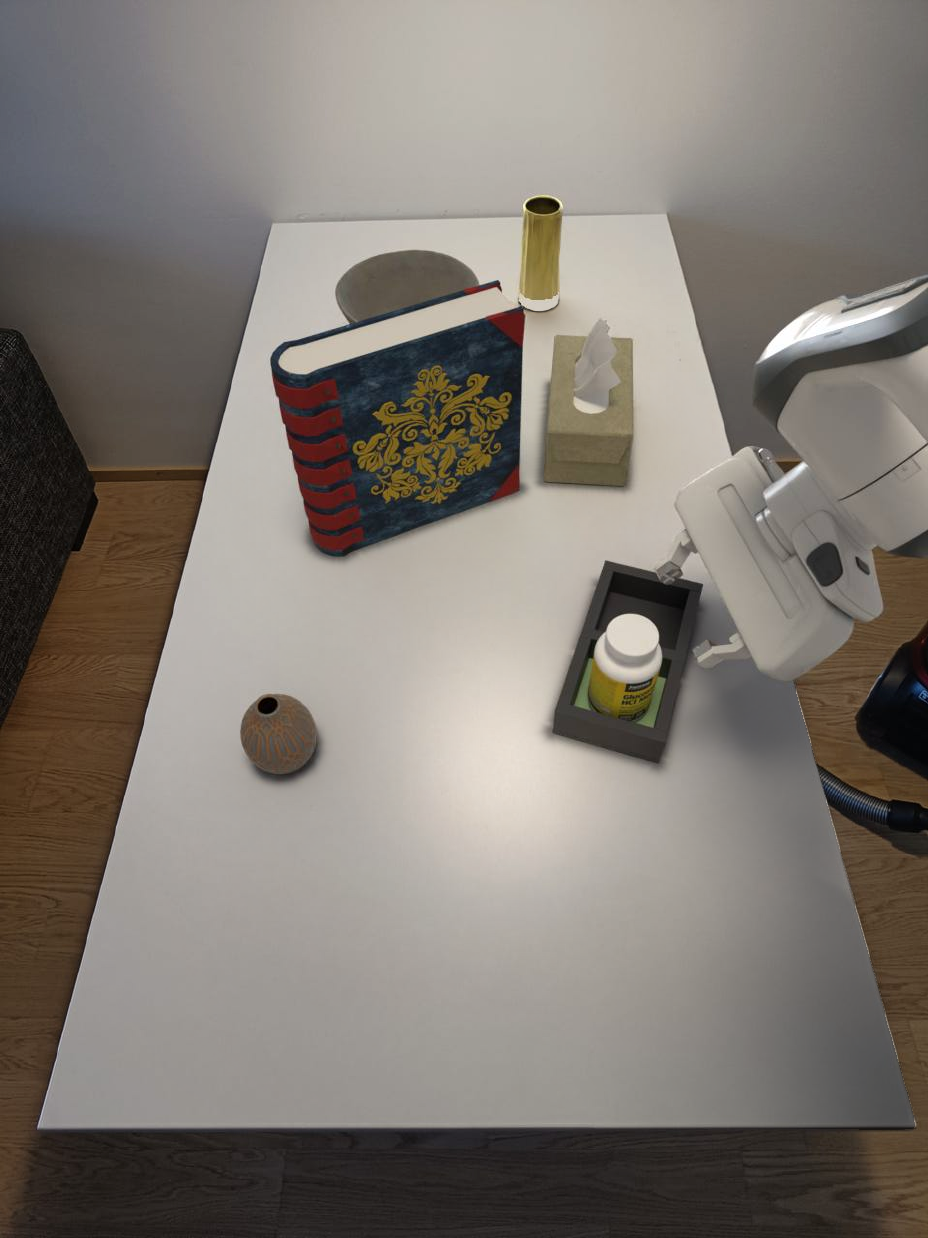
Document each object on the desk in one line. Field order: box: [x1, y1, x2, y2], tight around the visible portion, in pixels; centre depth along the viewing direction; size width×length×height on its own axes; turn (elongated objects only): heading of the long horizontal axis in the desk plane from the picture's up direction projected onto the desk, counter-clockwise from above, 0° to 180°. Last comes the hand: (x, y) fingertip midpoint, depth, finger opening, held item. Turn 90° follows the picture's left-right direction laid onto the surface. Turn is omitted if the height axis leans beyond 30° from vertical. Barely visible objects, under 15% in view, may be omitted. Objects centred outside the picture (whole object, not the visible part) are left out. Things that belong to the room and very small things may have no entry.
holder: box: [552, 560, 704, 764], centre depth 89 cm, size 20×10×4 cm, turn 161°
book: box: [269, 279, 526, 557], centre depth 94 cm, size 25×7×25 cm, turn 115°
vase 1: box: [239, 693, 318, 775], centre depth 82 cm, size 7×7×9 cm
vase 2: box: [517, 195, 564, 300], centre depth 123 cm, size 6×6×14 cm
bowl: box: [334, 249, 480, 324], centre depth 118 cm, size 19×19×10 cm
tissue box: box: [543, 317, 634, 487], centre depth 105 cm, size 19×10×16 cm, turn 174°
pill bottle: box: [588, 614, 662, 722], centre depth 83 cm, size 6×6×11 cm
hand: (678, 617), depth 78 cm, fingers open, 8 cm apart
